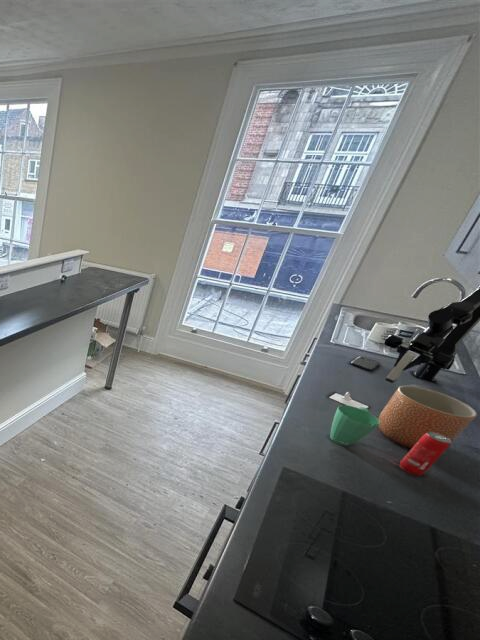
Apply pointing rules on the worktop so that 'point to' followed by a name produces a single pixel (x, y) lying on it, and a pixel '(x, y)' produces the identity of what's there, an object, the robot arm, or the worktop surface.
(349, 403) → the adhesive hook
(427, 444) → the beverage can
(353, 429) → the mug
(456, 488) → the worktop surface
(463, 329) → the robot arm
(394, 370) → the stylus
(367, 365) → the smartphone
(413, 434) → the planter
